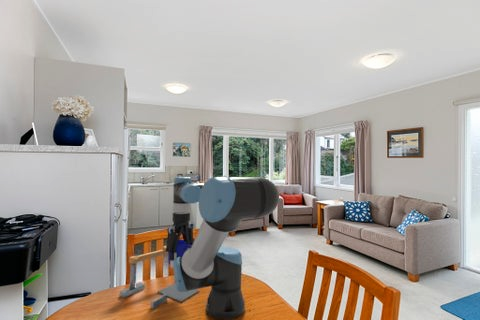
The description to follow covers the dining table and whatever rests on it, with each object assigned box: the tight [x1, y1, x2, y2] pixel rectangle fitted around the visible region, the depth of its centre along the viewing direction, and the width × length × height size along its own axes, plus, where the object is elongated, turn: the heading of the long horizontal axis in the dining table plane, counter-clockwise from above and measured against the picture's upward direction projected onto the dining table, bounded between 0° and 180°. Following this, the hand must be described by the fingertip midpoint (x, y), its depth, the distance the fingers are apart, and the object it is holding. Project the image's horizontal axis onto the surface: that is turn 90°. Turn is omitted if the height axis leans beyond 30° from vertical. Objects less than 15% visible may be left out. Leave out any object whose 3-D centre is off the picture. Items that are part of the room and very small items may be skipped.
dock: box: [119, 263, 168, 310], centre depth 108 cm, size 19×10×12 cm, turn 58°
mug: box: [167, 239, 192, 266], centre depth 114 cm, size 8×12×10 cm
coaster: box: [157, 282, 200, 304], centre depth 114 cm, size 14×11×1 cm
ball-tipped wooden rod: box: [128, 245, 168, 265], centre depth 118 cm, size 19×4×3 cm, turn 139°
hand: (179, 264), depth 114 cm, fingers closed on mug, 7 cm apart
